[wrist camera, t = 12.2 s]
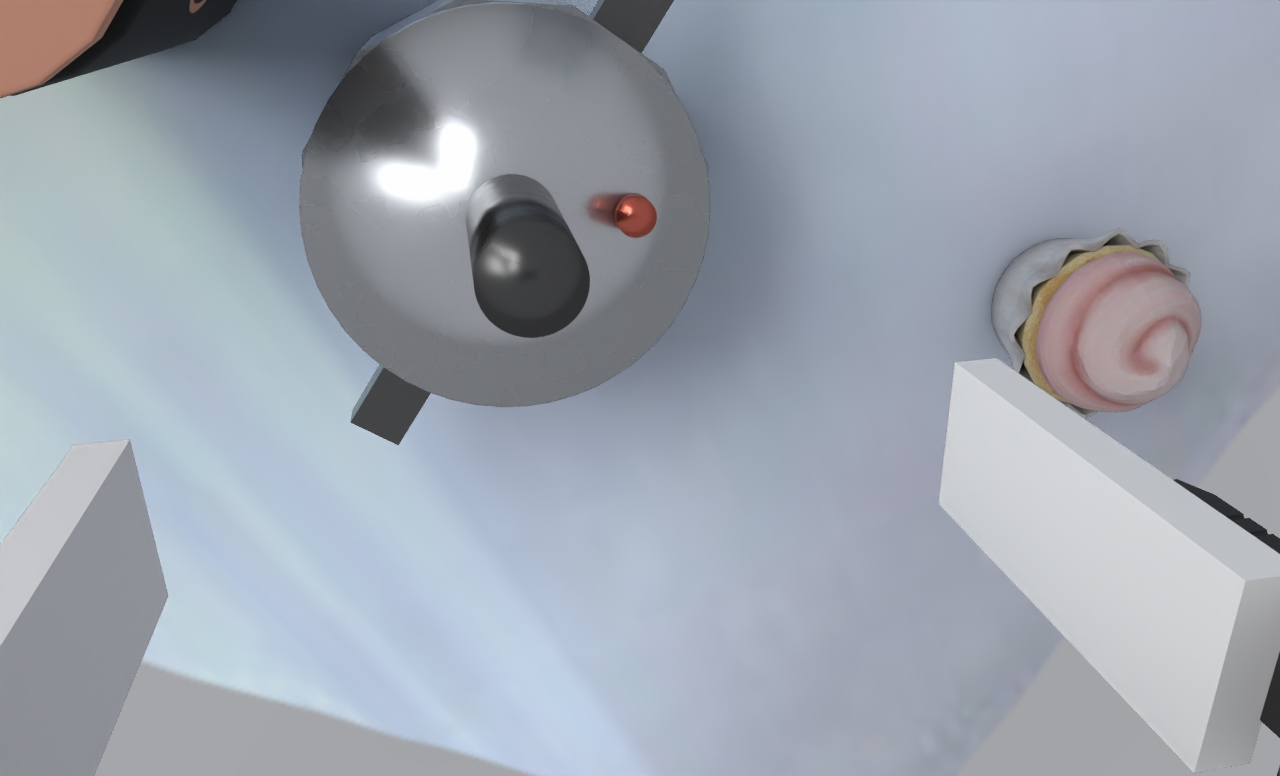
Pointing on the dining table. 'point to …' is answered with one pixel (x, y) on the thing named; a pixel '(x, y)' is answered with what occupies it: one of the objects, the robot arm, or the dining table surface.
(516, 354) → the lid
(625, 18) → the pot
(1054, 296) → the cupcake
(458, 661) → the dining table surface
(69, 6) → the coffee jar
